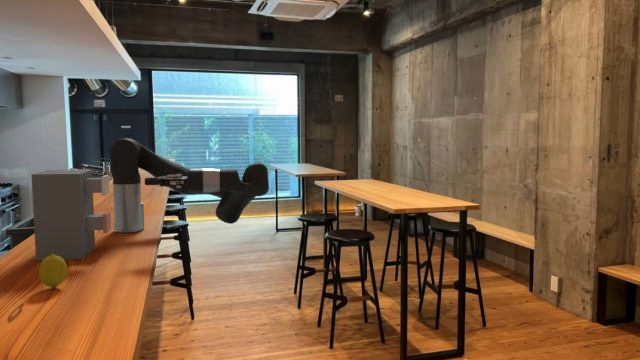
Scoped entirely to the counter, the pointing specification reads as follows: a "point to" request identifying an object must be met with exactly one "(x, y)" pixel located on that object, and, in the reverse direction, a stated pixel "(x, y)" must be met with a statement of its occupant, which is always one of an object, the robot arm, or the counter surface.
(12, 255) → the counter surface
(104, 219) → the lower plunger
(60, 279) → the lemon
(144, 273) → the counter surface
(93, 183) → the upper plunger
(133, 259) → the counter surface
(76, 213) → the grey dispenser box
